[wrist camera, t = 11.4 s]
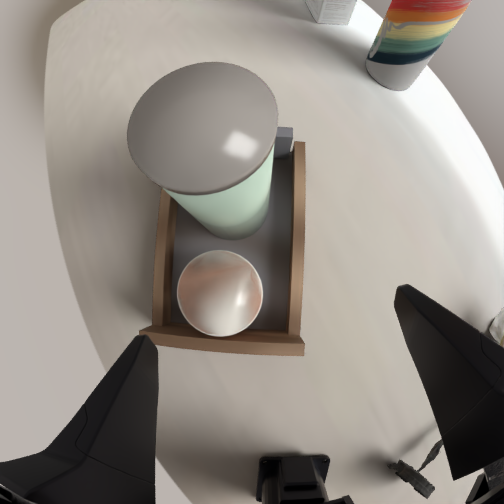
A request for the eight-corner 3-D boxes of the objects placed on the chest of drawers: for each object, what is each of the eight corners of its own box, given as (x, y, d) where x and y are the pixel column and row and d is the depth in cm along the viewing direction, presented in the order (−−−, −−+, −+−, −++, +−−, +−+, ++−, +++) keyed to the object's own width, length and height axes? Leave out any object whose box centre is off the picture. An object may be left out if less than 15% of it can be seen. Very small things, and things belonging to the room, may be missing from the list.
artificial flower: (365, 449, 22) (398, 485, 12) (486, 301, 25) (538, 277, 16) (407, 488, 19) (444, 524, 9) (517, 345, 22) (568, 333, 13)
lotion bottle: (359, 51, 24) (411, -87, 4) (402, 59, 23) (469, -59, 4) (372, 88, 23) (451, -63, 3) (417, 95, 23) (509, -26, 3)
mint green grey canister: (282, 218, 22) (308, 139, 9) (219, 254, 22) (160, 220, 9) (247, 161, 22) (232, 45, 9) (187, 194, 22) (111, 107, 9)
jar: (260, 324, 21) (260, 339, 16) (194, 320, 21) (175, 332, 16) (263, 257, 22) (264, 252, 17) (197, 254, 22) (179, 248, 17)
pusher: (288, 158, 22) (292, 137, 18) (186, 156, 22) (173, 136, 18) (288, 150, 22) (292, 127, 18) (187, 148, 22) (175, 127, 18)
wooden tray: (294, 338, 22) (303, 356, 17) (163, 329, 22) (139, 342, 17) (300, 155, 23) (309, 126, 18) (177, 153, 23) (159, 126, 18)
